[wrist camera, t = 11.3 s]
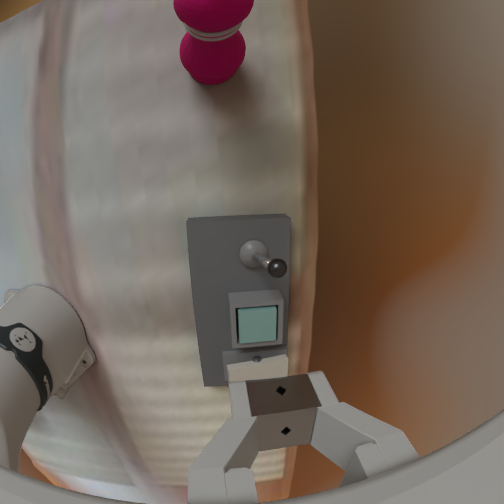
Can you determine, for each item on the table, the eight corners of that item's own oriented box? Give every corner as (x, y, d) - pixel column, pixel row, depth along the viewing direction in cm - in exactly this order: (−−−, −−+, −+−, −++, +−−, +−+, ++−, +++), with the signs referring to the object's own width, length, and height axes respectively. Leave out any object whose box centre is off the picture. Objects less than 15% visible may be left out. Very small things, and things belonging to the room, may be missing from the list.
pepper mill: (171, 68, 30) (134, -18, 11) (209, 30, 29) (211, -71, 10) (216, 99, 32) (220, 27, 13) (253, 59, 31) (294, -30, 12)
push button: (271, 328, 38) (275, 340, 35) (237, 330, 37) (239, 343, 34) (271, 297, 36) (276, 308, 34) (236, 300, 36) (238, 311, 33)
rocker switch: (282, 374, 40) (287, 382, 38) (227, 385, 38) (230, 393, 36) (283, 350, 38) (288, 357, 37) (225, 361, 36) (228, 369, 35)
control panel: (280, 367, 44) (289, 392, 38) (204, 373, 43) (204, 400, 37) (284, 213, 37) (297, 222, 31) (188, 217, 36) (183, 228, 30)
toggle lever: (261, 262, 35) (290, 278, 29) (246, 265, 34) (273, 282, 29) (261, 245, 34) (291, 259, 29) (245, 248, 33) (273, 263, 28)
